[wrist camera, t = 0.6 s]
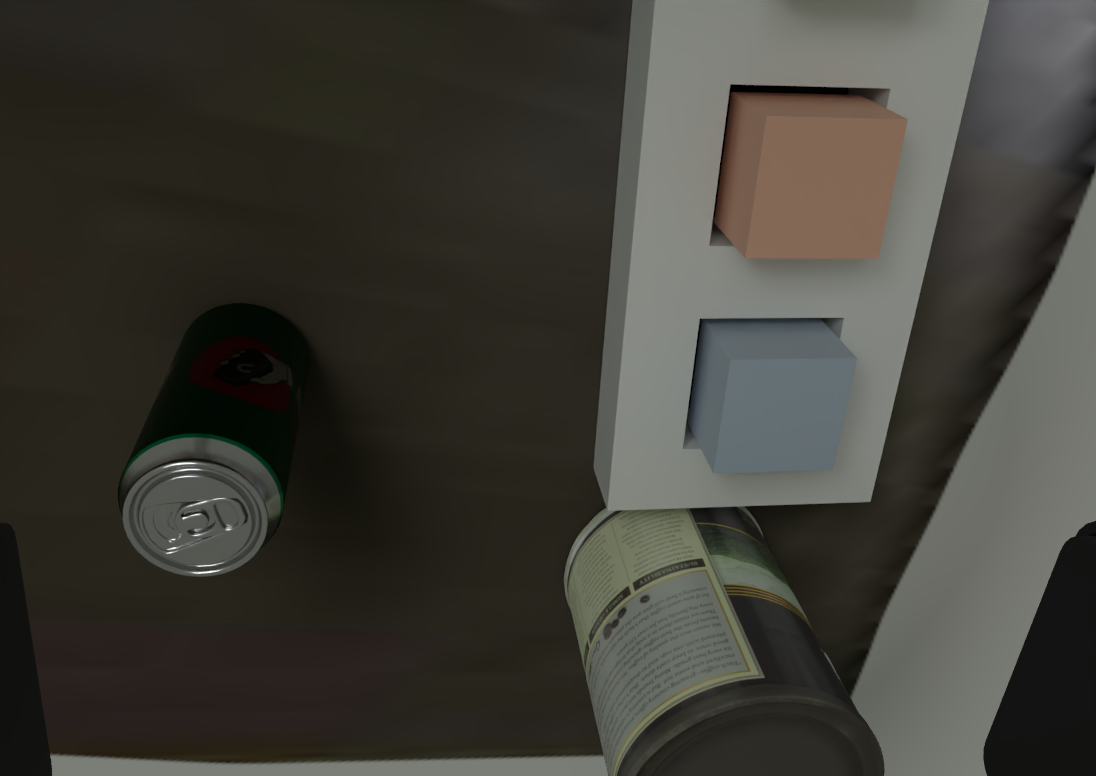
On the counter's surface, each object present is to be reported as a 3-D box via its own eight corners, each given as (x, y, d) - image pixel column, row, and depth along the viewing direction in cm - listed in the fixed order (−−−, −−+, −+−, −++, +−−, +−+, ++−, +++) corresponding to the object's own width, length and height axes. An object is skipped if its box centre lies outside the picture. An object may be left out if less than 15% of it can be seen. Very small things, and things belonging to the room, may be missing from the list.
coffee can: (781, 478, 48) (914, 692, 36) (747, 644, 53) (854, 884, 40) (569, 481, 47) (631, 706, 34) (553, 651, 51) (603, 903, 39)
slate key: (701, 316, 41) (730, 359, 37) (818, 316, 42) (857, 358, 38) (687, 423, 43) (713, 473, 40) (798, 421, 44) (833, 470, 40)
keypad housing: (659, -320, 33) (686, -338, 29) (1002, -290, 34) (1061, -305, 31) (593, 467, 46) (607, 510, 43) (840, 460, 48) (870, 501, 45)
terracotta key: (731, 91, 37) (766, 115, 33) (860, 95, 38) (907, 119, 34) (714, 222, 39) (745, 258, 36) (835, 223, 40) (878, 258, 36)
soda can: (164, 313, 40) (81, 473, 30) (287, 284, 40) (249, 435, 30) (207, 419, 43) (146, 602, 32) (324, 392, 43) (300, 566, 32)
